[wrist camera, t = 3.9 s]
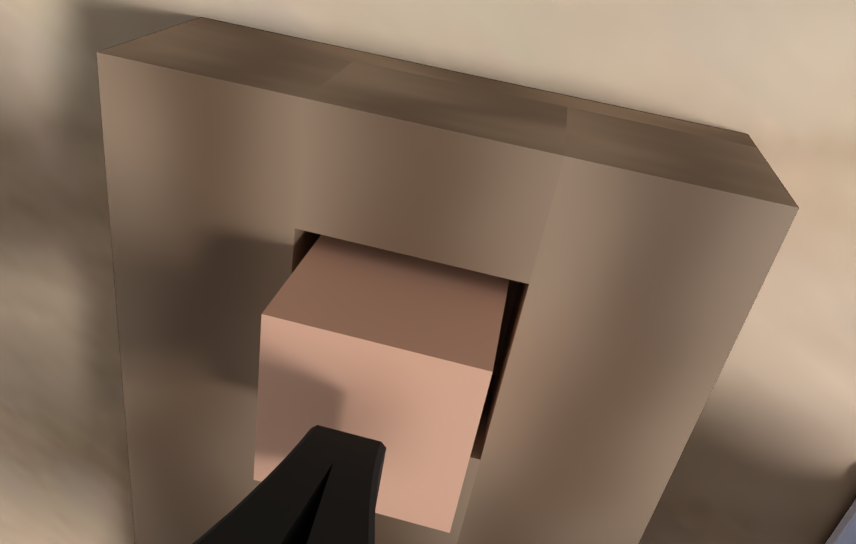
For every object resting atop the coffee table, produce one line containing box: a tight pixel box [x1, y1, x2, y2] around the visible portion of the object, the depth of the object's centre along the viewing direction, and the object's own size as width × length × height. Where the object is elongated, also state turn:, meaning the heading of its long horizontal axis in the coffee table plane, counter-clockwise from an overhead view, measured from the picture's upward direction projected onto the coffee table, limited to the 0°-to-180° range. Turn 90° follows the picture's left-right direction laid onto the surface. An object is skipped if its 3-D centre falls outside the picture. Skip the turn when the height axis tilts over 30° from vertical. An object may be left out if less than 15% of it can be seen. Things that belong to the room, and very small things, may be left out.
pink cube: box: [253, 235, 509, 533], centre depth 15 cm, size 4×4×4 cm
